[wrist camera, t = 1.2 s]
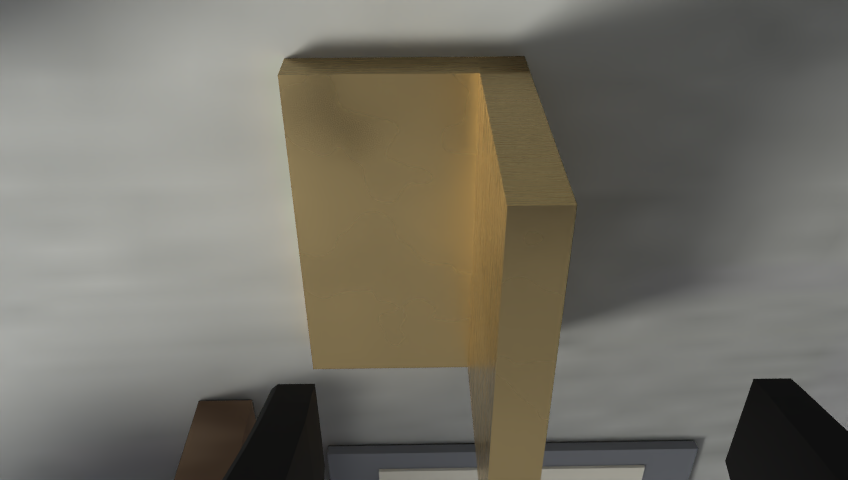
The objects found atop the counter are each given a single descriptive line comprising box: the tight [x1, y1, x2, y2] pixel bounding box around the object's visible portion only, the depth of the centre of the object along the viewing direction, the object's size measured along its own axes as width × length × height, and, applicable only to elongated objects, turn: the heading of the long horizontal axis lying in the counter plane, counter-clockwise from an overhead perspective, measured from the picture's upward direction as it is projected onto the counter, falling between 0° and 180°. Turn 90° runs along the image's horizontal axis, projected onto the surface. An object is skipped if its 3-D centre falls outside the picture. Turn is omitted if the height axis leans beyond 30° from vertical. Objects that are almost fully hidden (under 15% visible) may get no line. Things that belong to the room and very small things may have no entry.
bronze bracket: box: [278, 56, 577, 480], centre depth 15 cm, size 8×5×6 cm, turn 0°
